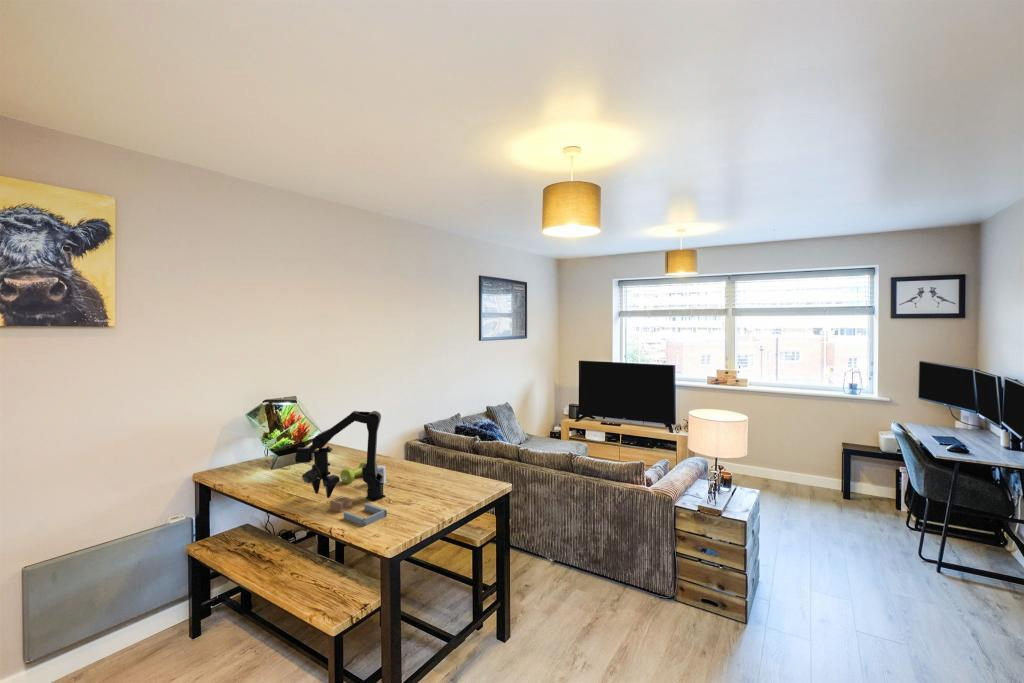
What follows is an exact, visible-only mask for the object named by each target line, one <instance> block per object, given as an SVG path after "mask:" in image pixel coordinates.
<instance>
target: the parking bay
mask: <svg viewBox="0 0 1024 683" xmlns="http://www.w3.org/2000/svg"><path fill="white" fill-rule="evenodd" d="M363 505H364V511H365V512H370V513H372V514H371V515H369V516H367V517H362V516H359V515H356V514H354V513H352V512H348V511H343V519H344V520H347V521H349V522H352V523H355V524H358V525H359V526H362V527H366V526H368V525H370V524H372V523H374V522H377V521H379V520H382V519H384V518H386V517H388V515H387V514H388V511H387V509H385V508H383V507H382V508H381V507H378V506H376V505H373V504H370V503H364V504H363Z"/></svg>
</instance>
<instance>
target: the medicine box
mask: <svg viewBox="0 0 1024 683" xmlns="http://www.w3.org/2000/svg"><path fill="white" fill-rule="evenodd" d="M377 469H378V473H379V474H380V475H382V476H383V478H382V481H381V483H383V486H384V485H386V483H387V474H386V473H387V472H386V471H387V469H386V465H377Z"/></svg>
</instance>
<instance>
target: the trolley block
mask: <svg viewBox="0 0 1024 683" xmlns="http://www.w3.org/2000/svg"><path fill="white" fill-rule="evenodd" d="M329 507H330V508H329V510H331V511H335V512H338V513H344V512H347V511H348V510H349V509H353V498H350V497H346V496H343V495H341V496H338V497H335V498H333V499H331V500H330V501H329Z"/></svg>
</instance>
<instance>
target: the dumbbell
mask: <svg viewBox="0 0 1024 683" xmlns="http://www.w3.org/2000/svg"><path fill="white" fill-rule="evenodd" d="M366 463H367V460H366V461H364V460H363V461H362V462H360V464H359V466H358V468H356V469H351V468H343V469H342V470H341V472H340V474H339V478H340V479H341V483H344V484H345V485H349V484H352V483H353V481H354V479H355V477H356V476H359V475H361V476H362V467H363V466H364V464H366Z"/></svg>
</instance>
